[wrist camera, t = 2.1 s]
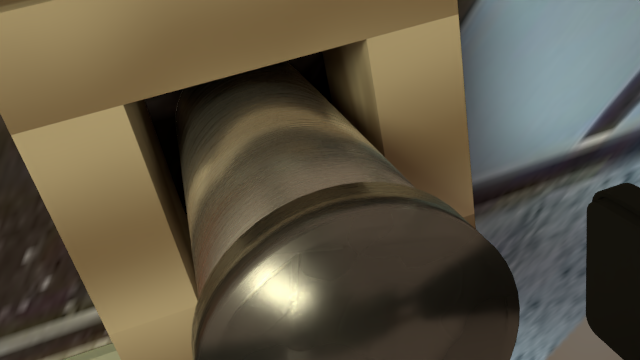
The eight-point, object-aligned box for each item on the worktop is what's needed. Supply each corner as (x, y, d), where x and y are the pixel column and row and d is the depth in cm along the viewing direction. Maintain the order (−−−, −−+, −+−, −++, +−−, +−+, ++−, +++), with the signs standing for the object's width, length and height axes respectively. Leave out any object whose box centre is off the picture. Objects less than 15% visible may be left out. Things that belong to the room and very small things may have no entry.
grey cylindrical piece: (146, 67, 18) (143, 283, 7) (304, 26, 18) (513, 164, 8) (195, 208, 20) (247, 527, 9) (333, 166, 21) (523, 417, 10)
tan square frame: (9, -5, 16) (-44, 23, 11) (374, -90, 17) (450, -94, 13) (141, 298, 21) (140, 399, 16) (414, 209, 22) (479, 279, 18)
